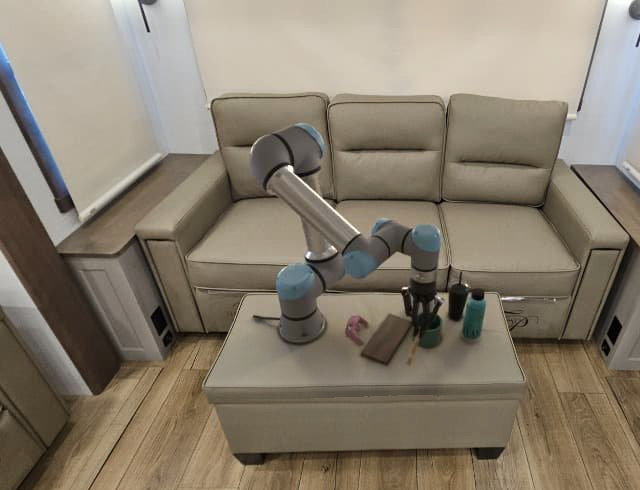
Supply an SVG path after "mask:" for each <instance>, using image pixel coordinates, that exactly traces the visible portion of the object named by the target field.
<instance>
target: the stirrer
mask: <svg viewBox="0 0 640 490" xmlns="http://www.w3.org/2000/svg"><path fill="white" fill-rule="evenodd" d="M419 335H420V328H419V330H418V333H417V336H416V338H415V340H414V341H413V344H412V346H411V348H410V352H409V353H408V356H407V360H406V362H405V365H406V366H407V367H411V364H412V362H413V359H414V356H415V354H416V351H417V348H418V346H419V344H418V343H419V340H420V338H419Z"/></svg>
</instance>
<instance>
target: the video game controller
mask: <svg viewBox="0 0 640 490" xmlns="http://www.w3.org/2000/svg"><path fill="white" fill-rule="evenodd" d="M360 325H362V326H365V327H367V326H369V321H368V320H367V319H366V318H364V317H363V316H362V315H360V314H357V313H355V314H351V315H350V317H349V318H348V320H347V323H346V327H345V328H344V334H345V336H346V337H347V338H349V339H350V340H351V341H352V342H354V343H356V344H360V345H361V344H362V343H363V339H362V338H360V337H359V336H358V335H357V334H358V333H357V331H359V330H360Z"/></svg>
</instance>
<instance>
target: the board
mask: <svg viewBox="0 0 640 490" xmlns="http://www.w3.org/2000/svg"><path fill="white" fill-rule="evenodd" d="M411 327H412V326H411V320H409V319H406V318H404V317H400V316H397V315H395V314H392V313H388V315H387V316H386V318H385V319H384V320H383V322H382V323H381V324H380V326H379V328H378V329H377V330H376V332H374V334H373V336H372V337H371V338H370V340H369V341H368V342H367V344H366V345H365V347H364V348H363V350H362V351H361V353H360V354H361V356H364V357H366V358H368V359H371V360H373V361H376V362H378V363H380V364H383V365H388V363H389V361H390V360H391V358H392V357H393V355H394V354H395V352H396V350H397V349H398V347H399V346H400V344H401V342H402V341H403V339H404V338H405V336H406V335H407V333H408V331H409V330H410V328H411Z"/></svg>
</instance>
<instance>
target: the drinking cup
mask: <svg viewBox="0 0 640 490" xmlns="http://www.w3.org/2000/svg"><path fill="white" fill-rule="evenodd" d="M462 276H463V271H462V270H460V271H459V277H458V279H456V278H455V279H452V280H451V281H449V282H448V283H447V289H448V303H447V305H448V313H447V314H448V316H447V317H448V318H449V319H450V320H452V321H460V320H461V319H462V318H463V315H464V312H465V309H466V304H467V299H468V298H469V294H470V291H471V288H472V287H471V285H470V284H469V282H467V281H466V280H464V279H462Z"/></svg>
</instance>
